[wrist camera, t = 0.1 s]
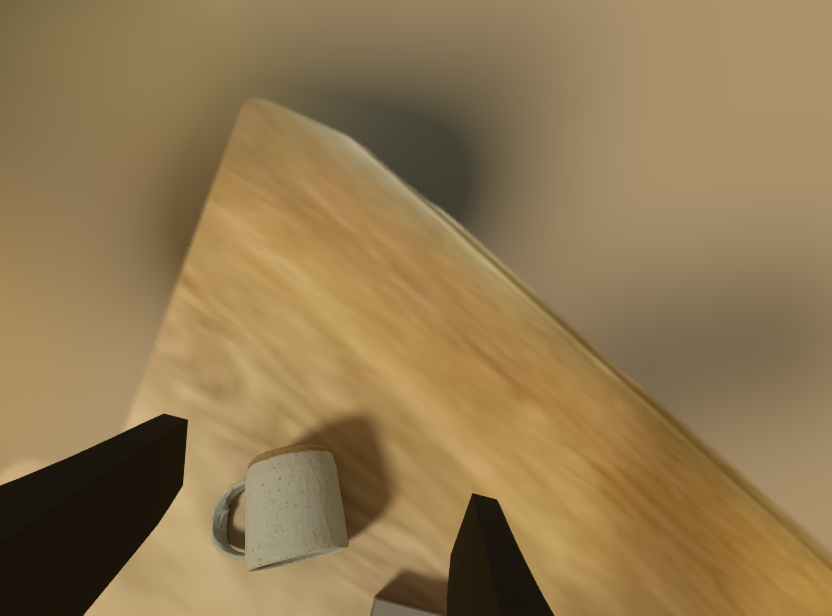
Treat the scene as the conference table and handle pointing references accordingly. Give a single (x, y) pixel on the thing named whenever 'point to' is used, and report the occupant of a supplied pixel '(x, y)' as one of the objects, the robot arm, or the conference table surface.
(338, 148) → the conference table surface
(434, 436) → the conference table surface
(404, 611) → the gray plinth
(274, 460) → the ceramic mug
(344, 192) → the conference table surface
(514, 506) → the conference table surface
